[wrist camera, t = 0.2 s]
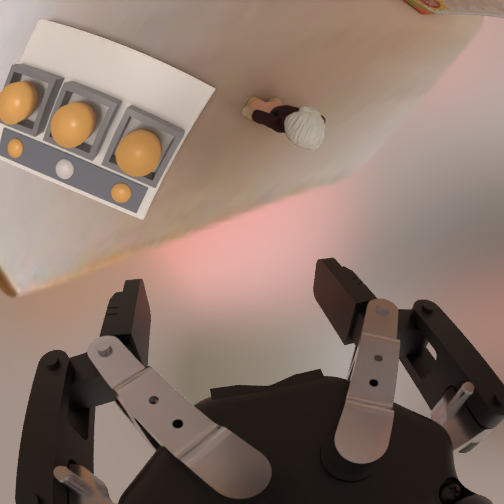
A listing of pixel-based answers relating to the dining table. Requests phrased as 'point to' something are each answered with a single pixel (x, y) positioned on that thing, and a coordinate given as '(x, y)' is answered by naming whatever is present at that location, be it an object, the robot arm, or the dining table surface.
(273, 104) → the grandmother figurine
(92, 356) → the robot arm
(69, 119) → the middle button
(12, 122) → the left button
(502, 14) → the cracker box
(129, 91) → the button console
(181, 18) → the dining table surface
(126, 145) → the right button
